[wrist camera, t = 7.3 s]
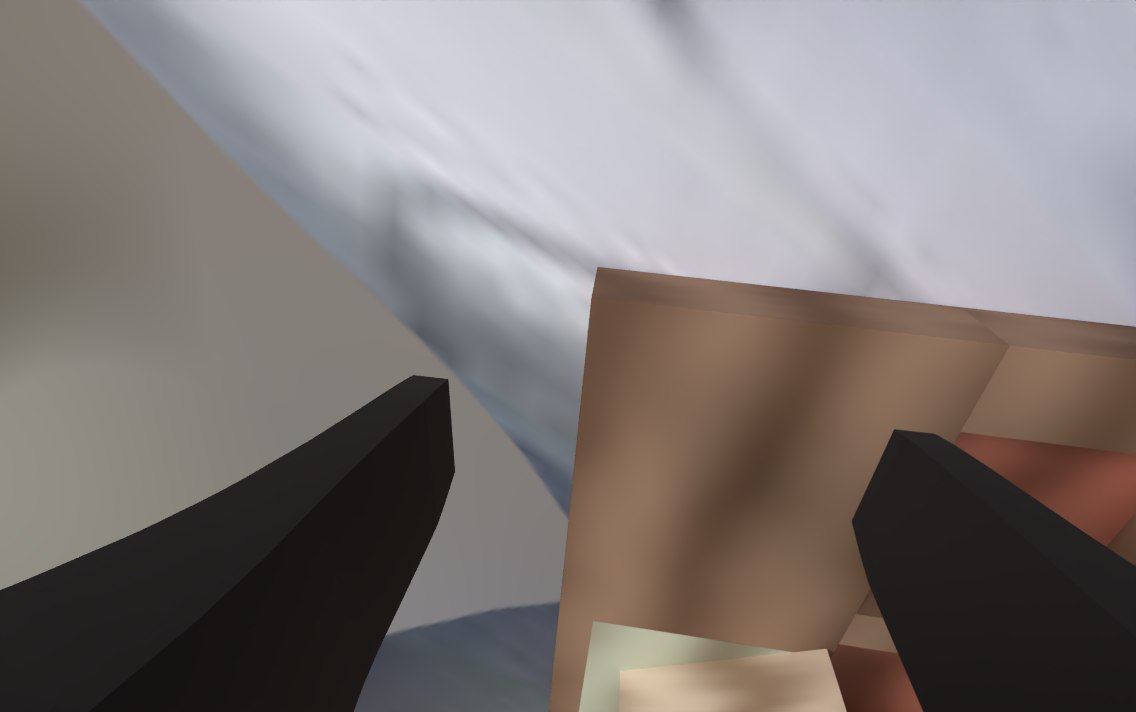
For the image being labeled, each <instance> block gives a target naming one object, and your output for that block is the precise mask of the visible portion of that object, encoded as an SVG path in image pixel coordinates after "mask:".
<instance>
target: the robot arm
mask: <svg viewBox="0 0 1136 712" xmlns="http://www.w3.org/2000/svg"><path fill="white" fill-rule="evenodd" d="M454 473H455V465H454V452H453V438H452V424H451V410H450V396H449V383H448V379H442V378H434V377H424V376H415V375H413V376H411V377H409V378H407V379H406V380H404V381H402V382H401V383H399V384H397V385H396V386H394V387H393V388H391V389H389V390H388V391H386V392H385V393H383V394H382V395H380V396H379V397H377V398H376V399H374V400H372V401H371V402H369V403H368V404H366V405H365V406H363V407H362V408H360V409H359V410H357V411H355V412H354V413H352V414H351V415H349V416H348V417H346V418H344V419H343V420H341V421H340V422H338V423H336V424H335V425H333V426H332V427H330V428H329V429H327V430H326V431H324V432H323V433H321V434H319V435H318V436H316V437H314V438H313V439H312V440H310V441H308V442H306V443H304V444H303V445H301V446H299V447H298V448H296V449H294V450H293V451H291V452H289V453H288V454H285V455H284V456H282V457H280V458H279V459H277V460H275V461H273V462H272V463H270V464H268V465H266V466H265V467H263V468H261V469H260V470H258V471H256V472H254V473H253V474H251V475H249V476H247V477H246V478H244V479H242V480H240V481H239V482H237V483H235V484H233V485H231V486H229V487H228V488H226V489H224V490H222V491H220V492H218V493H216V494H214V495H212V496H211V497H208V498H207V499H204V500H203V501H201V502H199V503H197V504H195V505H193V506H190V507H189V508H186V509H185V510H182V511H180V512H178V513H176V514H174V515H172V516H170V517H168V518H166V519H164V520H162V521H160V522H158V523H156V524H154V525H151V526H149V527H147V528H145V529H143V530H141V531H139V532H136V533H134V534H132V535H130V536H127V537H125V538H123V539H120V540H118V541H116V542H113V543H111V544H109V545H107V546H104V547H102V548H100V549H97V550H95V551H92V552H90V553H88V554H85V555H83V556H81V557H79V558H76V559H74V560H71V561H69V562H67V563H65V564H62V565H60V566H58V567H55V568H53V569H51V570H48V571H46V572H43V573H41V574H39V575H37V576H34V577H32V578H29V579H27V580H25V581H22V582H20V583H17V584H15V585H12V586H10V587H7V588H5V589H2V590H0V712H354V709H355V706H356V704H357V701H358V698H359V695H360V693H361V690H362V687H363V685H364V682H365V680H366V678H367V675H368V673H369V671H370V668H371V666H372V664H373V661H374V659H375V657H376V654H377V652H378V650H379V648H380V646H381V643H382V641H383V639H384V637H385V635H386V633H387V631H388V629H389V627H390V625H391V622H392V620H393V618H394V616H395V614H396V612H397V610H398V608H399V606H400V604H401V601H402V599H403V597H404V595H405V593H406V591H407V589H408V587H409V585H410V582H411V580H412V578H413V576H414V574H415V572H416V570H417V568H418V566H419V564H420V561H421V559H422V557H423V555H424V553H425V551H426V548H427V546H428V544H429V542H430V540H431V538H432V536H433V533H434V531H435V529H436V527H437V525H438V522H439V519H440V516H441V513H442V510H443V507H444V504H445V501H446V498H447V495H448V491H449V489H450V485H451V482H452V479H453V476H454ZM852 525H853V529H854V533H855V537H856V541H857V545H858V549H859V553H860V556H861V560H862V563H863V567H864V570H865V573H866V577H867V580H868V583H869V586H870V588H871V591H872V593H873V595H874V598H875V600H876V603H877V605H878V607H879V610H880V612H881V615H882V617H883V619H884V622H885V624H886V627H887V629H888V631H889V634H890V636H891V638H892V641H893V643H894V645H895V648H896V650H897V652H898V655H899V657H900V659H901V661H902V664H903V666H904V668H905V671H906V673H907V675H908V678H909V680H910V682H911V685H912V687H913V689H914V692H915V694H916V696H917V699H918V701H919V703H920V706H921V708H922V710H923V712H1136V566H1135V565H1133V564H1132V563H1130V562H1128V561H1127V560H1125V559H1124V558H1122V557H1121V556H1119V555H1118V554H1116V553H1115V552H1113V551H1112V550H1110V549H1109V548H1107V547H1106V546H1104V545H1103V544H1101V543H1100V542H1098V541H1097V540H1095V539H1094V538H1092V537H1091V536H1089V535H1088V534H1086V533H1085V532H1083V531H1082V530H1080V529H1079V528H1077V527H1076V526H1074V525H1073V524H1071V523H1070V522H1069V521H1067V520H1066V519H1064V518H1063V517H1061V516H1060V515H1058V514H1057V513H1055V512H1054V511H1052V510H1051V509H1049V508H1048V507H1046V506H1045V505H1044V504H1042V503H1041V502H1039V501H1038V500H1036V499H1035V498H1033V497H1032V496H1030V495H1029V494H1027V493H1026V492H1025V491H1023V490H1022V489H1020V488H1019V487H1017V486H1016V485H1014V484H1013V483H1011V482H1010V481H1008V480H1007V479H1006V478H1004V477H1003V476H1001V475H1000V474H998V473H997V472H995V471H994V470H992V469H991V468H989V467H988V466H986V465H985V464H983V463H982V462H980V461H979V460H977V459H976V458H974V457H973V456H971V455H970V454H968V453H966V452H965V451H963V450H962V449H960V448H959V447H957V446H955V445H954V444H952V443H950V442H949V441H947V440H945V439H943V438H942V437H940V436H938V435H936V434H933V433H924V432H915V431H906V430H897V429H894V431H893V433H892V435H891V437H890V439H889V441H888V444H887V446H886V448H885V450H884V452H883V454H882V457H881V459H880V461H879V463H878V465H877V467H876V469H875V472H874V474H873V476H872V478H871V480H870V482H869V484H868V487H867V489H866V491H865V493H864V495H863V497H862V500H861V502H860V504H859V506H858V508H857V510H856V512H855V515H854V517H853V519H852Z"/></svg>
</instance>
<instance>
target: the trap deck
mask: <svg viewBox="0 0 1136 712" xmlns="http://www.w3.org/2000/svg"><path fill="white" fill-rule="evenodd" d="M894 429H897V430H906V431H915V432H924V433H933V434H936V435H938V436H940V437H942V438H943V439H945V440H947V441H949V442H950V443H952V444H954V445H955V446H957V447H959V448H960V449H962V450H963V451H965V452H966V453H968V454H970V455H971V456H973V457H974V458H976V459H977V460H979V461H980V462H982V463H983V464H985V465H986V466H988V467H989V468H991V469H992V470H994V471H995V472H997V473H998V474H1000V475H1001V476H1003V477H1004V478H1006V479H1007V480H1008V481H1010V482H1011V483H1013V484H1014V485H1016V486H1017V487H1019V488H1020V489H1022V490H1023V491H1025V492H1026V493H1027V494H1029V495H1030V496H1032V497H1033V498H1035V499H1036V500H1038V501H1039V502H1041V503H1042V504H1044V505H1045V506H1046V507H1048V508H1049V509H1051V510H1052V511H1054V512H1055V513H1057V514H1058V515H1060V516H1061V517H1063V518H1064V519H1066V520H1067V521H1069V522H1070V523H1071V524H1073V525H1074V526H1076V527H1077V528H1079V529H1080V530H1082V531H1083V532H1085V533H1086V534H1088V535H1089V536H1091V537H1092V538H1094V539H1095V540H1097V541H1098V542H1100V543H1101V544H1103V545H1104V546H1106V547H1107V548H1109V549H1110V550H1112V551H1113V552H1115V553H1116V554H1118V555H1119V556H1121V557H1122V558H1124V559H1125V560H1127V561H1128V562H1130V563H1132V564H1133V565H1135V566H1136V327H1131V326H1122V325H1113V324H1104V323H1095V322H1086V321H1077V320H1068V319H1059V318H1050V317H1041V316H1032V315H1023V314H1014V313H1005V312H996V311H987V310H978V309H969V308H960V307H951V306H942V305H933V304H924V303H915V302H906V301H897V300H888V299H879V298H870V297H861V296H852V295H843V294H834V293H825V292H816V291H807V290H798V289H789V288H780V287H771V286H762V285H753V284H744V283H735V282H726V281H717V280H708V279H699V278H690V277H681V276H672V275H663V274H654V273H645V272H636V271H627V270H618V269H609V268H600V267H598V268H597V273H596V278H595V283H594V288H593V293H592V299H591V308H590V318H589V328H588V337H587V347H586V357H585V366H584V376H583V386H582V395H581V405H580V415H579V425H578V434H577V444H576V454H575V463H574V473H573V483H572V492H571V502H570V512H569V521H568V531H567V541H566V551H565V560H564V570H563V579H562V589H561V599H560V608H559V618H558V628H557V638H556V647H555V657H554V667H553V676H552V686H551V696H550V705H549V712H619V691H620V671H626V670H636V669H645V668H654V667H663V666H672V665H681V664H690V663H700V662H709V661H718V660H727V659H736V658H745V657H755V656H764V655H773V654H782V653H791V652H800V651H809V650H818V649H827V651H828V654H829V657H830V660H831V664H832V667H833V670H834V673H835V676H836V679H837V683H838V686H839V689H840V692H841V695H842V698H843V702H844V705H845V708H846V711H847V712H923V710H922V708H921V706H920V703H919V701H918V699H917V696H916V694H915V692H914V689H913V687H912V685H911V682H910V680H909V678H908V675H907V673H906V671H905V668H904V666H903V664H902V661H901V659H900V657H899V655H898V652H897V650H896V648H895V645H894V643H893V641H892V638H891V636H890V634H889V631H888V629H887V627H886V624H885V622H884V619H883V617H882V615H881V612H880V610H879V607H878V605H877V603H876V600H875V598H874V595H873V593H872V591H871V588H870V586H869V583H868V580H867V577H866V573H865V570H864V567H863V563H862V560H861V556H860V553H859V549H858V545H857V541H856V537H855V533H854V529H853V525H852V519H853V517H854V515H855V512H856V510H857V508H858V506H859V504H860V502H861V500H862V497H863V495H864V493H865V491H866V489H867V487H868V484H869V482H870V480H871V478H872V476H873V474H874V472H875V469H876V467H877V465H878V463H879V461H880V459H881V457H882V454H883V452H884V450H885V448H886V446H887V444H888V441H889V439H890V437H891V435H892V433H893V431H894Z"/></svg>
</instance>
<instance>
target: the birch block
mask: <svg viewBox="0 0 1136 712" xmlns="http://www.w3.org/2000/svg"><path fill="white" fill-rule="evenodd" d="M619 712H847V711H846V708H845V705H844V702H843V698H842V695H841V692H840V689H839V686H838V683H837V679H836V676H835V673H834V670H833V667H832V664H831V660H830V657H829V654H828V651H827V649H818V650H809V651H800V652H791V653H782V654H773V655H764V656H755V657H745V658H736V659H727V660H718V661H709V662H700V663H690V664H681V665H672V666H663V667H654V668H645V669H636V670H626V671H620V691H619Z"/></svg>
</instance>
